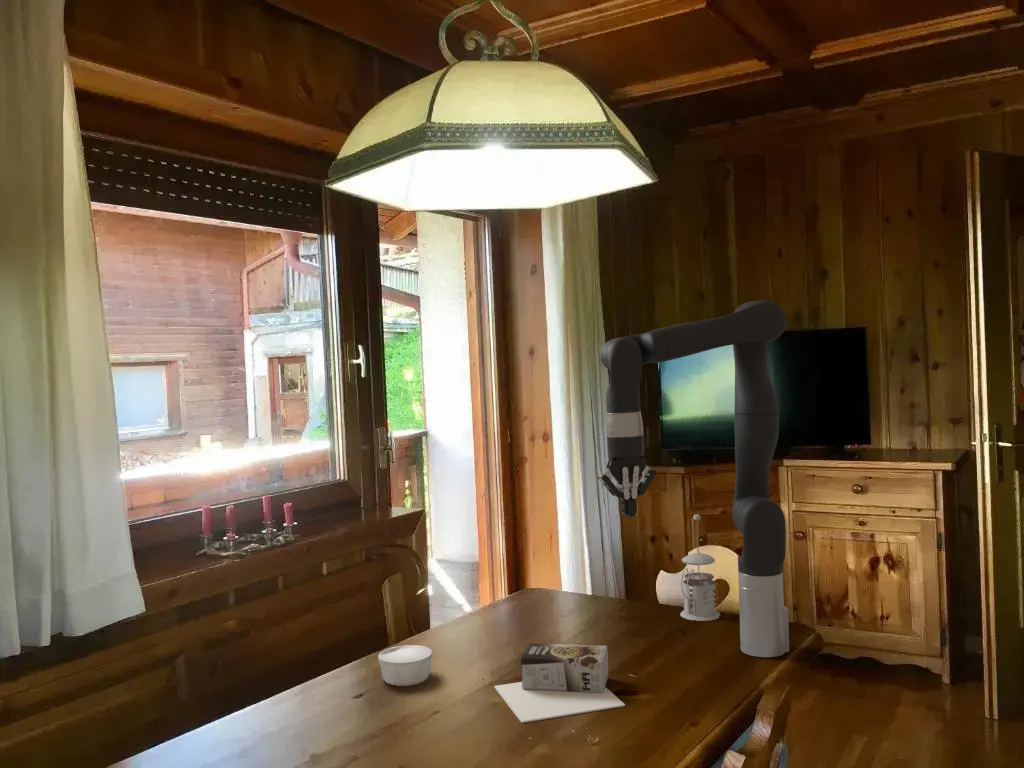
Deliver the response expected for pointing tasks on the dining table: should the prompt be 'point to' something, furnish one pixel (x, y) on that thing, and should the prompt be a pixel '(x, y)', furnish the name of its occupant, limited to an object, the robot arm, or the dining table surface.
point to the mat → (553, 702)
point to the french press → (699, 588)
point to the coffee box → (565, 667)
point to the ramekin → (405, 664)
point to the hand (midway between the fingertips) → (629, 516)
